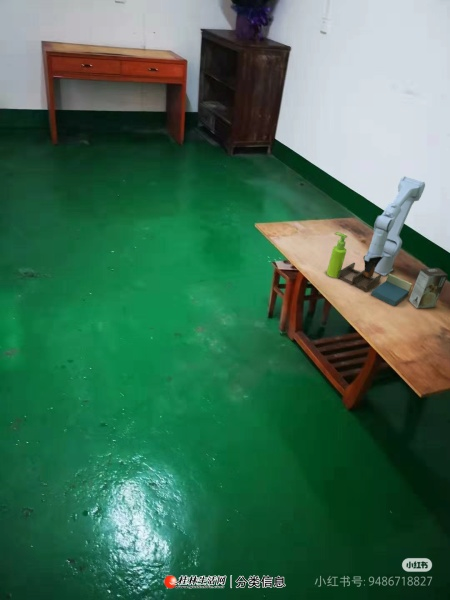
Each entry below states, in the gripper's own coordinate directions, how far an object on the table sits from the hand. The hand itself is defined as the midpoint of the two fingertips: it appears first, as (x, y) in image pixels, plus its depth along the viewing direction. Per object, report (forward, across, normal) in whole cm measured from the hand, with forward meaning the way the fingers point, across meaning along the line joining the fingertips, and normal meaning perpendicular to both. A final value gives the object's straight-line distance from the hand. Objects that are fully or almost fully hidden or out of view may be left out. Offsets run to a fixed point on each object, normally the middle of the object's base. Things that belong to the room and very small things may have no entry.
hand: (369, 270), depth 203 cm
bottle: (+2, 0, 0) cm, 2 cm away
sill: (+7, 0, -12) cm, 14 cm away
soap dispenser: (+7, -5, +14) cm, 17 cm away
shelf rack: (+7, 0, +3) cm, 8 cm away
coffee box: (+7, +5, -25) cm, 26 cm away
